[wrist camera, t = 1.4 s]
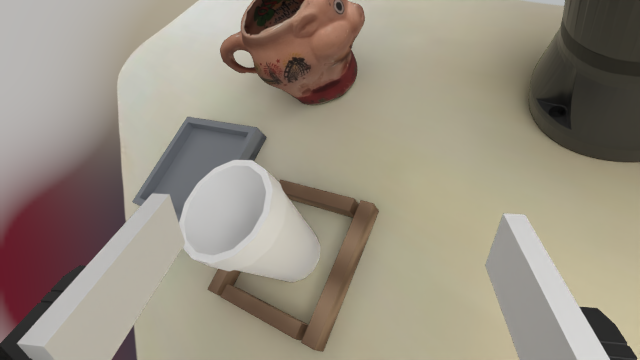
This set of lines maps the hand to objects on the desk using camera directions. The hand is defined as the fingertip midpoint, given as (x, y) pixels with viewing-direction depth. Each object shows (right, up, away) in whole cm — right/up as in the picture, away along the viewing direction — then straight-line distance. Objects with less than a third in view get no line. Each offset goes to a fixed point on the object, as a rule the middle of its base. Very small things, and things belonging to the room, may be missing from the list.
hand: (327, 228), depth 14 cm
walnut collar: (-3, -6, +25) cm, 26 cm away
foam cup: (-3, -7, +25) cm, 26 cm away
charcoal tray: (-18, +3, +38) cm, 42 cm away
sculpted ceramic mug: (-1, +16, +37) cm, 41 cm away
